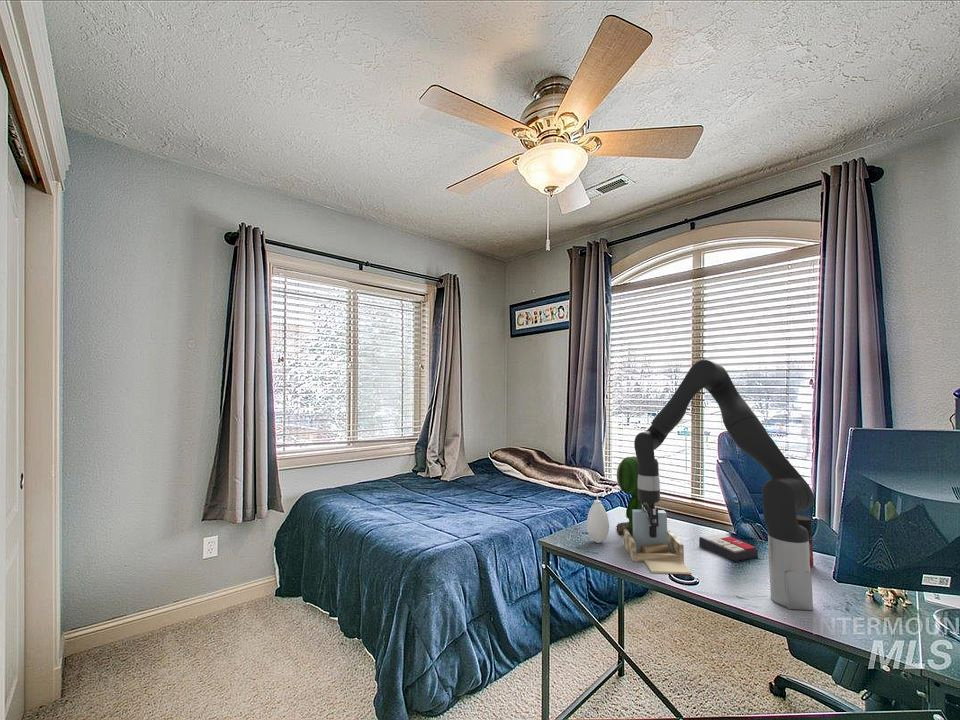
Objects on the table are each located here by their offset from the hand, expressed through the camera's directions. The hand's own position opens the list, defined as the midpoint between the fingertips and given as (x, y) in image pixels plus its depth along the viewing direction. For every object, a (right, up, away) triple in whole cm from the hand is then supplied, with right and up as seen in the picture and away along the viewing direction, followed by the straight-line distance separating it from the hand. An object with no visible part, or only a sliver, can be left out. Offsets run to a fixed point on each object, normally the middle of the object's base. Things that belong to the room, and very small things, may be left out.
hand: (649, 533), depth 159 cm
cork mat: (0, -5, -15) cm, 16 cm away
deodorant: (+46, -6, -12) cm, 48 cm away
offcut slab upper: (-1, -4, -6) cm, 7 cm away
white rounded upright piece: (-16, -7, +9) cm, 20 cm away
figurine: (+3, -8, +20) cm, 21 cm away
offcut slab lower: (-1, -6, -7) cm, 10 cm away
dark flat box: (+27, -7, -1) cm, 28 cm away
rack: (0, -6, -3) cm, 7 cm away
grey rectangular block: (0, -6, 0) cm, 6 cm away
